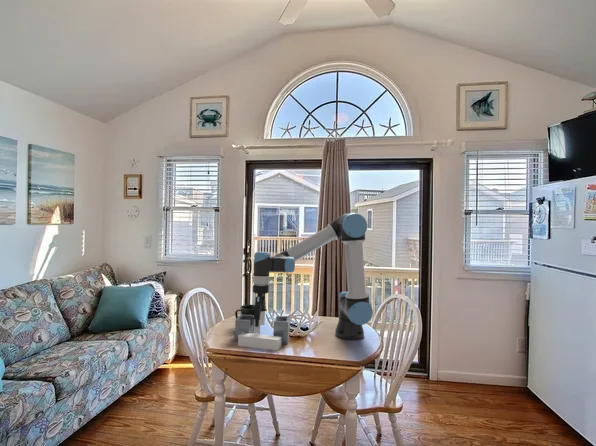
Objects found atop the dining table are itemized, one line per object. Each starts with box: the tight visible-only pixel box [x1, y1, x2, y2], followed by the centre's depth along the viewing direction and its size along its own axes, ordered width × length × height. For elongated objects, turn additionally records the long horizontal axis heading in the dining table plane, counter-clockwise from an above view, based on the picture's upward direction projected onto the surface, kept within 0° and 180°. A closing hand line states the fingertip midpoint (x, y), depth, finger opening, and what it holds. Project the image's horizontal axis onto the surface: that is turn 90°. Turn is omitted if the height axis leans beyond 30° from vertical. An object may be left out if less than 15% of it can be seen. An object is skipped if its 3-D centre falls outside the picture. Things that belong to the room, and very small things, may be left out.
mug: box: [234, 304, 255, 332], centre depth 194 cm, size 11×15×12 cm
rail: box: [237, 333, 282, 351], centre depth 166 cm, size 20×5×5 cm, turn 75°
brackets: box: [234, 313, 291, 345], centre depth 176 cm, size 26×11×10 cm, turn 87°
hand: (259, 328), depth 166 cm, fingers open, 13 cm apart
